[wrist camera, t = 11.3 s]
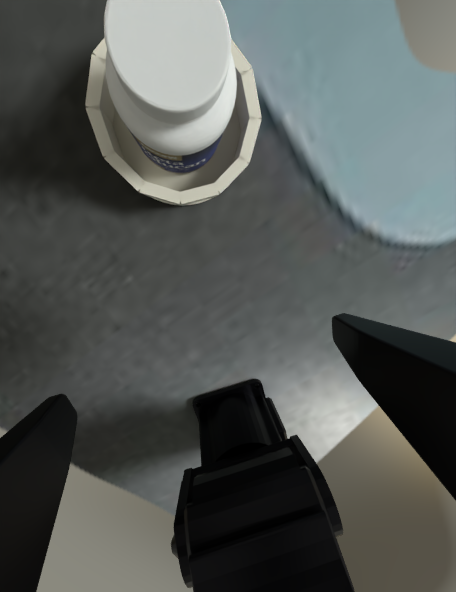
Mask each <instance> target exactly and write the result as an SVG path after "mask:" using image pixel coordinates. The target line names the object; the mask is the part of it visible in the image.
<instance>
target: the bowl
mask: <svg viewBox="0 0 456 592" xmlns="http://www.w3.org/2000/svg"><path fill="white" fill-rule="evenodd" d="M106 52H107V46H106V43H105V38H104V39H103V40H102V41H101V43H100V44H99V45H98V46H97V47H96V49H95V50H94V51H93V53H94V55H93V54H92V56H91V64H90V72H89V80H88V87H87V95H86V103H85V106H86V107H87V108H86V111H87V114H88V117H89V119H90V122H91V125H92V128H93V131H94V133H95V136H96V139H97V142H98V144H99V147H100V150H101V153H102V156H103V157H104V159H105V160H106V161H107V162H108V163H109V164H110V165H111V166H112V167H113V168H114V169H115V170H116V171H117V172H118V173H120V174H121V175H122V176H123V177H124V178H125V179H126V180H127V181H128V182H129V183H130V184H131V185H132V186H133V187H134V188H135V189H136V190H137V191H138V192H140V193H142V194H144V195H146V196H148V197H151V198H153V199H155V200H158V201H161V202H163V203H167V204H172V205H179V206H181V205H182V206H185V205H193V204H199V203H202V202H205V201H207V200H209V199H212V198H215V197H216V196H218V195H219V194H221V193H222V192H223V191H224V190H225V189H226V188H227V187H228V186H229V185H230V184H231V182H232V181H233V180H234V179H235V178H236V177H237V176H238V175H239V174H240V173H241V172H242V171H243V170H244V169H245V168H246V167H247V166H248V165H249V163H250V159H251V156H252V152H253V148H254V145H255V141H256V138H257V134H258V130H259V127H260V123H261V112H260V106H259V101H258V95H257V90H256V84H255V79H254V73H253V69H251V67H252V66H251V65H250V64H249V62H248V61H247V60H246V58H245V57H244V55H243V54H242V53H241V51H240V50H239V49H238V47H237V46H236V44H235V43H234V42H233V40H232V39H231V53H232V56H233V60H234V64H235V70H236V79H237V90H236V99H235V105H234V108H233V112H232V115H231V118H230V120H229V123H228V125H227V127H226V129H225V131H224V133H223V135H222V138H221V140H220V142H219V144H218V146H217V149H216V151H215V153H214V154H213V156H212V158H211V159H210V160H209V161H208V162H207V163H206V164H205V165H204V166H203V167H202V168H200V169H198V170H196V171H194V172H191V173H187V174H175V173H170V172H167V171H165V170H163V169H161V168H159V167H158V166H156V165H155V164H154V163H153V162H151V161H150V160H149V158H148V157H147V156H146V155H145V154H144V152H143V151H142V149H141V148H140V146H139V145H138V143H137V142H136V140H135V139H134V137H133V136H132V134H131V133H130V131H129V130H128V128H127V127H126V125H125V124H124V122H123V121H122V119H121V117H120V116H119V114H118V112H117V110H116V108H115V106H114V104H113V101H112V99H111V96H110V93H109V89H108V84H107V78H106Z"/></svg>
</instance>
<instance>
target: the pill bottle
mask: <svg viewBox="0 0 456 592" xmlns="http://www.w3.org/2000/svg"><path fill="white" fill-rule="evenodd" d="M104 35H105V43H106V46H107V52H106V78H107V84H108V89H109V93H110V96H111V99H112V101H113V104H114V106H115V108H116V110H117V112H118V114H119V116H120V117H121V119H122V121H123V122H124V124H125V125H126V127H127V128H128V130H129V131H130V133H131V134H132V136H133V137H134V139H135V140H136V142H137V143H138V145H139V146H140V148H141V149H142V151H143V152H144V154H145V155H146V156H147V157H148V158H149V160H150V161H151V162H153V163H154V164H155V165H156V166H158V167H159V168H161V169H163V170H165V171H167V172H170V173H175V174H187V173H191V172H194V171H196V170H198V169H200V168H202V167H203V166H204V165H205V164H206V163H207V162H208V161H209V160H210V159H211V158H212V156H213V154H214V153H215V151H216V149H217V146H218V144H219V142H220V140H221V138H222V135H223V133H224V131H225V129H226V127H227V125H228V123H229V120H230V118H231V115H232V112H233V108H234V105H235V99H236V90H237V79H236V70H235V64H234V60H233V56H232V53H231V35H230V29H229V25H228V21H227V17H226V14H225V11H224V9H223V7H222V4H221V2H220V0H107V3H106V8H105V15H104Z"/></svg>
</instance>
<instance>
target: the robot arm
mask: <svg viewBox="0 0 456 592" xmlns="http://www.w3.org/2000/svg"><path fill="white" fill-rule="evenodd" d="M332 333H333V340H334V342H335V344H336V346H337V347H338V349H339V350H340V352H341V354H342V355H343V357H344V358H345V360H346V361H347V363H348V364H349V366H350V368H351V369H352V371H353V372H354V374H355V375H356V377H357V378H358V380H359V381H360V382H361V384H362V385H363V386H364V387H365V389H366V390H367V391H368V392H369V394H370V395H371V396H372V397H373V399H374V400H375V401H376V402H377V404H378V405H379V406H380V407H381V409H382V410H383V411H384V412H385V413H386V415H387V416H388V417H389V418H390V420H391V421H392V422H393V423H394V425H395V426H396V427H397V428H398V430H399V431H400V432H401V433H402V434H403V436H404V437H405V438H406V440H407V441H408V442H409V443H410V445H411V446H412V447H413V448H414V449H415V451H416V452H417V453H418V454H419V456H420V457H421V458H422V459H423V461H424V462H425V463H426V464H427V466H428V467H429V468H430V469H431V471H432V472H433V473H434V474H435V476H436V477H437V478H438V479H439V481H440V482H441V483H442V484H443V486H444V487H445V488H446V489H447V490H448V492H449V493H450V494H451V495H452V497H453V498H454V499H455V500H456V343H455V342H452V341H448V340H444V339H440V338H437V337H433V336H429V335H425V334H421V333H418V332H414V331H410V330H406V329H403V328H399V327H395V326H391V325H387V324H384V323H380V322H376V321H372V320H368V319H365V318H361V317H357V316H353V315H350V314H346V313H343V314H339V315H336V316H334V317H333V318H332ZM256 384H259V385H258V386H255V385H256ZM198 402H200V404H196V403H198ZM193 407H194V410H195V413H196V416H197V418H198V421H199V431H200V449H201V467H197V468H194V469H192V468H189V469H186V470H184V476H183V481H182V482H181V488H180V493H179V499H178V504H177V510H176V515H175V521H174V536H173V538H172V542H171V547H172V553H173V554H174V555H175V556H176V557H177V558H178V559H179V564H180V569H181V573H182V577H183V580H184V582H185V584H186V586H187V587H188V588H191V587H193V591H194V592H354V588H353V585H352V582H351V579H350V576H349V573H348V570H347V568H346V565H345V562H344V559H343V556H342V553H341V551H340V548H339V545H338V542H337V539H336V537H339V536H342V535H343V528H342V523H341V519H340V516H339V513H338V510H337V507H336V504H335V501H334V499H333V496H332V494H331V491H330V489H329V487H328V484H327V482H326V480H325V478H324V476H323V474H322V472H321V470H320V469H319V467H318V465H317V464H316V462H315V461H314V459H313V458H312V456H311V455H310V453H309V452H308V450H307V449H306V447H305V446H304V444H303V443H302V442H301V440H300V439H299V437H298V436H297V435H294V436H291V437H290V439H287V435H286V430H285V428H284V426H283V423H282V421H281V419H280V417H279V415H278V412H277V410H276V408H275V406H274V404H273V401H272V399H271V398H269V397H268V398H265V394H264V390H263V386H262V383H261V381H260V380H258V379H255V380H252V381H248V382H245V383H242V384H239V385H235V386H232V387H229V388H226V389H222V390H219V391H216V392H213V393H210V394H206V395H203V396H200V397H197V398H195V399H194V400H193ZM76 424H77V412H76V410H75V409H74V407H73V405H72V404H71V402H70V401H69V399H68V398H67V396H66V395H64V394H59V395H55V396H51V397H49V398H47V399H46V400H45V401H44V402H43V403H41V404H40V405H39V406H38V407H37V408H35V409H34V410H33V411H32V412H31V413H30V414H28V415H27V416H26V417H25V418H24V419H22V420H21V421H20V422H19V423H18V424H16V425H15V426H14V427H13V428H12V429H11V430H9V431H8V432H7V433H6V434H5V435H3V437H1V438H0V592H36V590H37V587H38V583H39V579H40V576H41V572H42V568H43V564H44V560H45V556H46V553H47V549H48V546H49V542H50V538H51V535H52V530H53V527H54V523H55V519H56V516H57V512H58V508H59V505H60V501H61V497H62V493H63V490H64V486H65V482H66V478H67V475H68V470H69V466H70V461H71V455H72V449H73V443H74V437H75V430H76Z"/></svg>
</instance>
